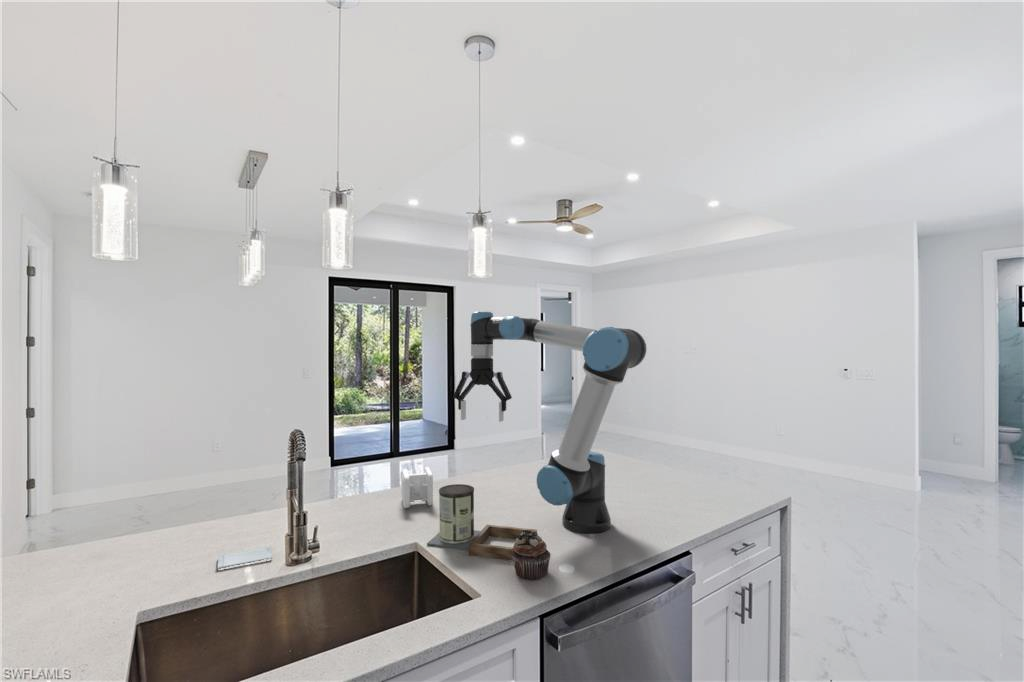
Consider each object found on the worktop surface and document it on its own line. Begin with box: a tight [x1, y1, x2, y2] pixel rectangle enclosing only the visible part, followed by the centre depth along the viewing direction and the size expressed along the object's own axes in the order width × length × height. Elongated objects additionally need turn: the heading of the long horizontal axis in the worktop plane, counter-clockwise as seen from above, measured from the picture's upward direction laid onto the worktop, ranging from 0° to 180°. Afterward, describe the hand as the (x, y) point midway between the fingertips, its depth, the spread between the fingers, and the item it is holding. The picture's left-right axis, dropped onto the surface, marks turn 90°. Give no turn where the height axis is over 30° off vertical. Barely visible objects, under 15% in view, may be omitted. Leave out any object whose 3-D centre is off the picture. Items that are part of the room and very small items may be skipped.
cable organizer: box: [400, 466, 434, 509], centre depth 175 cm, size 15×11×12 cm
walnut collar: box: [467, 524, 538, 562], centre depth 136 cm, size 15×15×3 cm
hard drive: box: [216, 546, 273, 570], centre depth 128 cm, size 2×8×12 cm
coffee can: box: [438, 483, 475, 544], centre depth 142 cm, size 10×10×14 cm
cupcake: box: [512, 530, 551, 581], centre depth 120 cm, size 10×10×10 cm
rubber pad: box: [426, 529, 481, 551], centre depth 142 cm, size 13×13×1 cm
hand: (482, 420), depth 163 cm, fingers open, 13 cm apart
